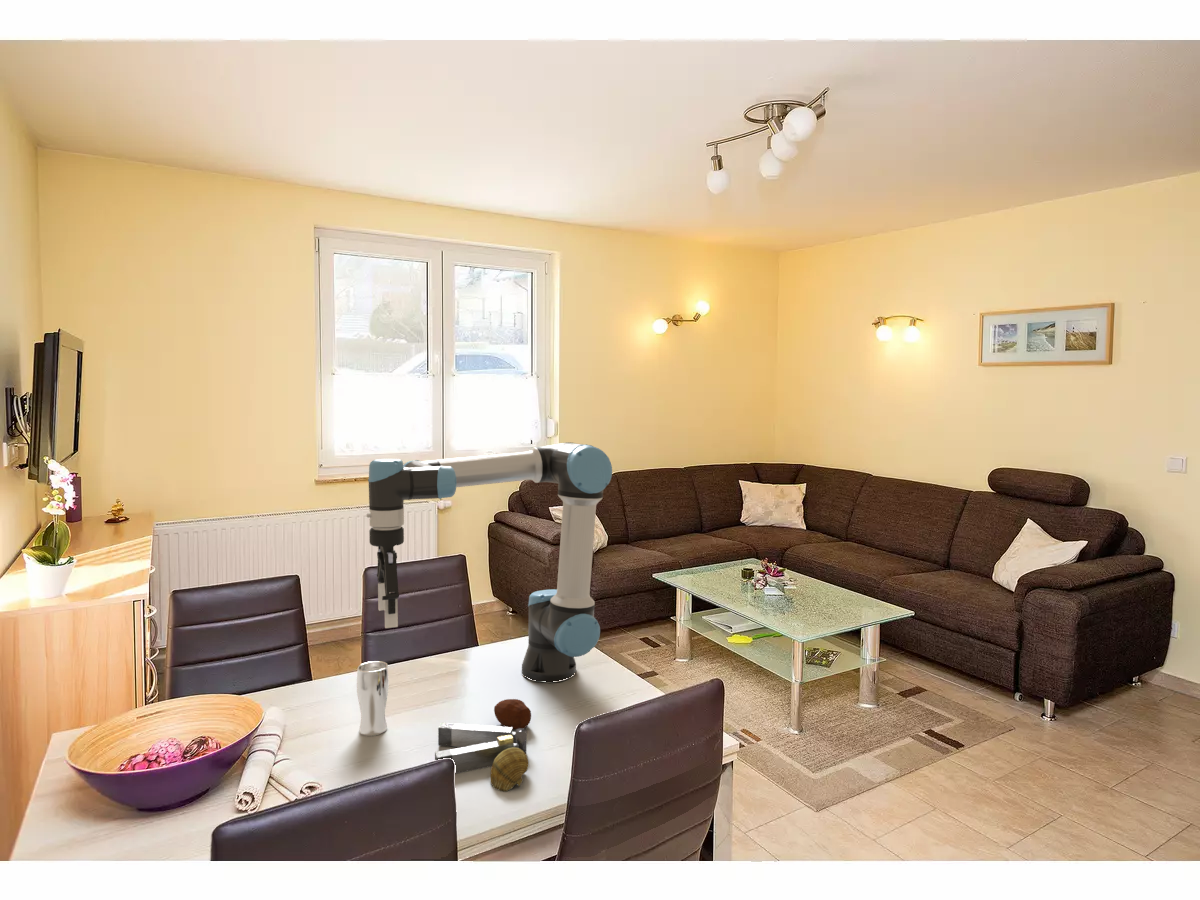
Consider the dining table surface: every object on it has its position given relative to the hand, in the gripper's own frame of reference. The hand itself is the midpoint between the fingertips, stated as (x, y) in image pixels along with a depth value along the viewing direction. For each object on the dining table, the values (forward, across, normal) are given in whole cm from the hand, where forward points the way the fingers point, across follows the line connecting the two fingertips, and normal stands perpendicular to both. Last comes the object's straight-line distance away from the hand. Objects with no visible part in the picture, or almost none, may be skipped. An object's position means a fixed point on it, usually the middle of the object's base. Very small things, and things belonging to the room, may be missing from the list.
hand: (387, 618), depth 165 cm
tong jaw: (+25, +18, +17) cm, 35 cm away
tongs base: (+25, +25, +16) cm, 39 cm away
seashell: (+26, +33, +20) cm, 46 cm away
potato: (+26, +11, +26) cm, 39 cm away
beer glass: (+26, +1, -4) cm, 26 cm away
